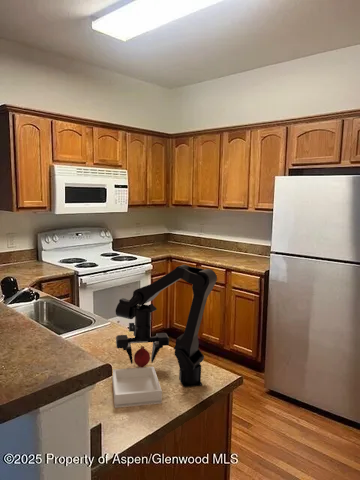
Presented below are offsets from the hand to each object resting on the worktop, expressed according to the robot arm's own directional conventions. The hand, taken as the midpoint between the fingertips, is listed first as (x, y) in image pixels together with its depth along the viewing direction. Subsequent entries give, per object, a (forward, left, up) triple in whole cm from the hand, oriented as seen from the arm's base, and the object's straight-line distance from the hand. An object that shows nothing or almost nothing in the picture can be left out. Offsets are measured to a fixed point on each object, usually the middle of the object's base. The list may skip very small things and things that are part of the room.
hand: (141, 362), depth 133 cm
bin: (+4, +16, -2) cm, 17 cm away
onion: (0, 0, -2) cm, 2 cm away
